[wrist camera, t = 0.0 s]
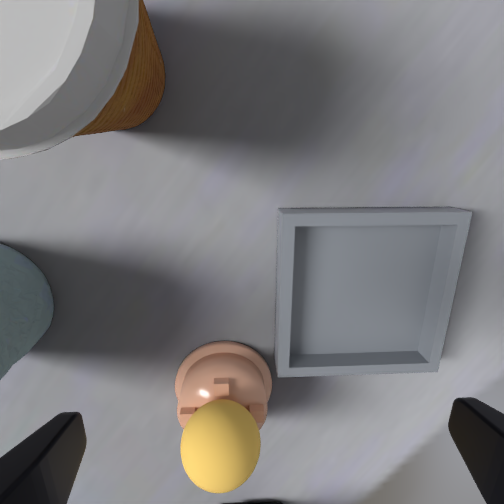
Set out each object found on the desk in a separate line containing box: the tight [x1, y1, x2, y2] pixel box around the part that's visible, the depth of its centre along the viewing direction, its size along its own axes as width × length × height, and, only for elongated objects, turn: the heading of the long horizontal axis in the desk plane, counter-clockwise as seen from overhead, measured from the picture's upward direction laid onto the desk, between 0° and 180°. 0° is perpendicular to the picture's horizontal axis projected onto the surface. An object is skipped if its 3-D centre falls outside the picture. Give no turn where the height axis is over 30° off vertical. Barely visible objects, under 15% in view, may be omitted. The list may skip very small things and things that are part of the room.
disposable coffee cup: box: [0, 0, 165, 159], centre depth 12 cm, size 10×10×12 cm
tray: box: [274, 207, 472, 378], centre depth 22 cm, size 12×12×2 cm
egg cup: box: [175, 341, 272, 430], centre depth 23 cm, size 8×8×4 cm
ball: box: [181, 399, 260, 493], centre depth 19 cm, size 5×5×5 cm
